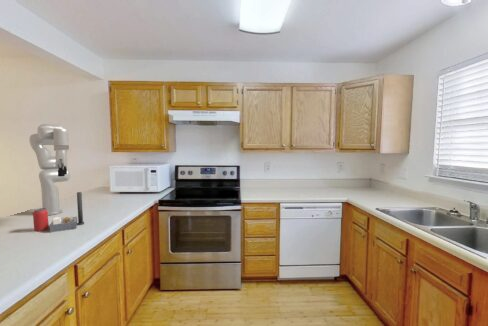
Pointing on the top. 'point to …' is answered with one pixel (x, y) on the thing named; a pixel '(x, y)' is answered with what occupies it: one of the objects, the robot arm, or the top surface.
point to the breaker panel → (64, 224)
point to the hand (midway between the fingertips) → (62, 175)
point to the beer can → (40, 219)
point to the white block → (57, 220)
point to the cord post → (80, 208)
